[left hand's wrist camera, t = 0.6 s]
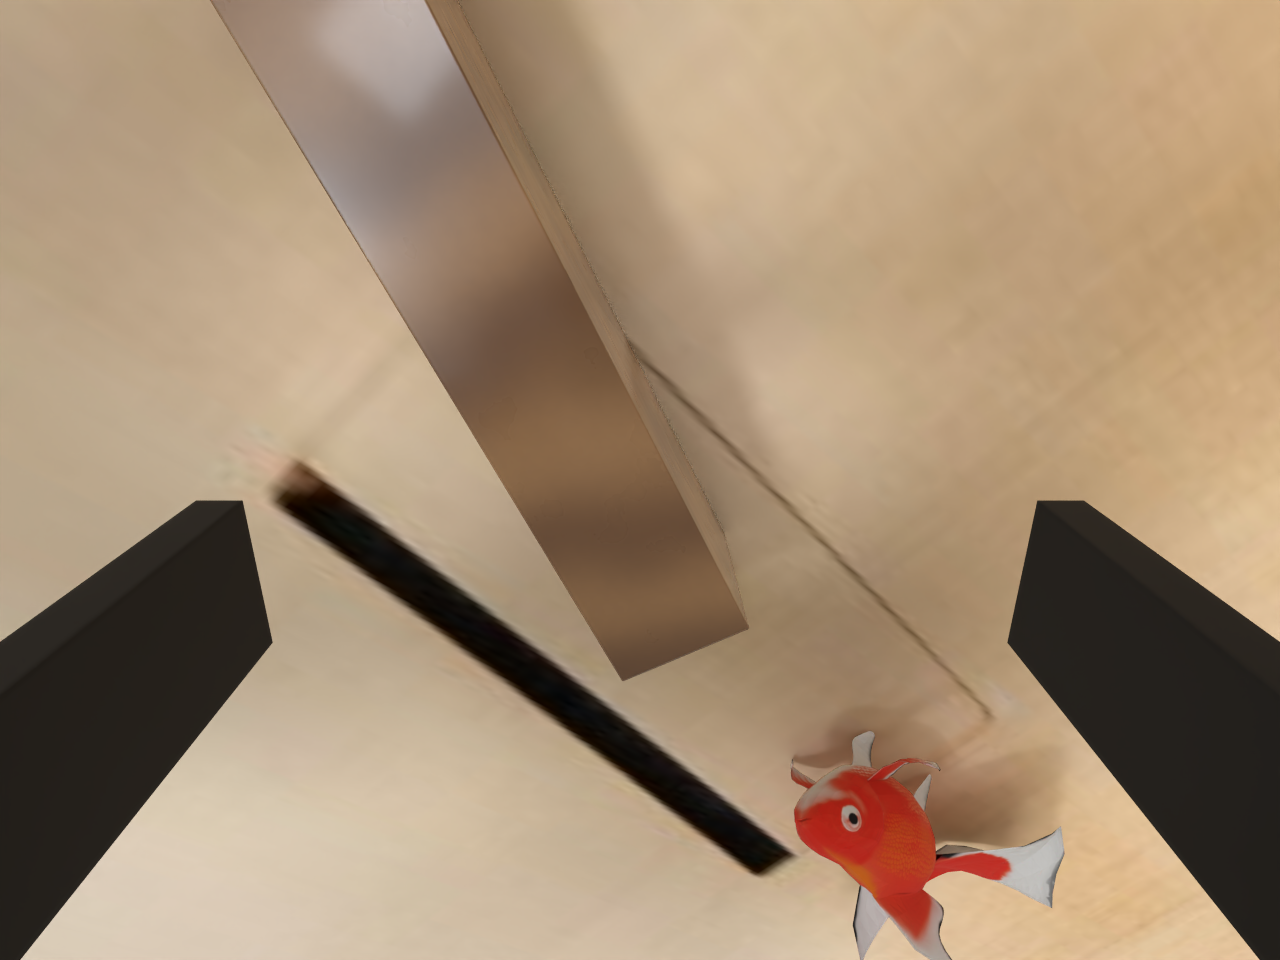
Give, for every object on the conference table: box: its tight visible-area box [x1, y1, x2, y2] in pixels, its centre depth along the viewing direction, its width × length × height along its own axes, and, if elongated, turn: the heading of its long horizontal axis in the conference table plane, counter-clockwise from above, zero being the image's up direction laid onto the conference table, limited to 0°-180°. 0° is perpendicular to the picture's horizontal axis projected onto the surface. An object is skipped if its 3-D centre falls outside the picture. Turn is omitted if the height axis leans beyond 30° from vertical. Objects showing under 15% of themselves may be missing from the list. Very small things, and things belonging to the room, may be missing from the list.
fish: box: [791, 731, 1064, 960], centre depth 35 cm, size 11×16×10 cm
